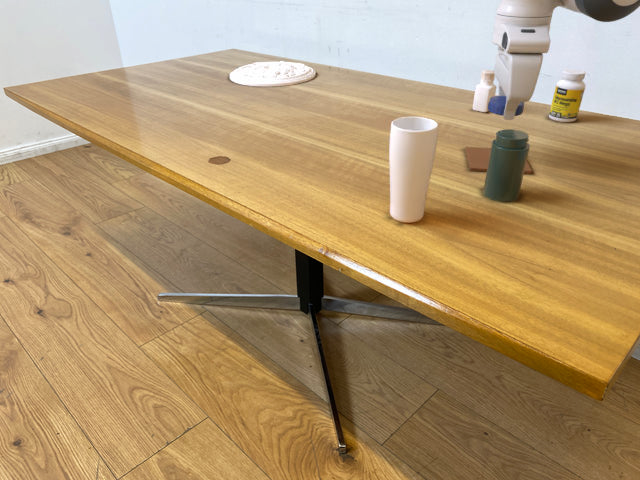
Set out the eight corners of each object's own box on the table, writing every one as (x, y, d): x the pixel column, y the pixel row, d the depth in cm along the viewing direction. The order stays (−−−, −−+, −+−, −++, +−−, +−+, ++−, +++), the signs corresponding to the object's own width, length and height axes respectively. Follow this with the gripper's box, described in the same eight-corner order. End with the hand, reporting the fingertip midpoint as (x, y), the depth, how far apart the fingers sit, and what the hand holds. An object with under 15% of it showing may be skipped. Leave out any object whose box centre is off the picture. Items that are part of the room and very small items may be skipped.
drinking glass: (428, 228, 73) (439, 132, 65) (383, 225, 74) (389, 130, 66) (427, 207, 79) (438, 117, 71) (386, 204, 80) (391, 115, 72)
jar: (514, 187, 85) (527, 128, 79) (522, 202, 80) (536, 141, 74) (480, 186, 85) (490, 127, 80) (486, 201, 80) (497, 140, 75)
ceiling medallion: (323, 67, 167) (323, 58, 166) (303, 88, 144) (302, 77, 143) (247, 64, 173) (246, 55, 171) (216, 84, 150) (214, 73, 148)
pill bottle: (545, 120, 116) (556, 72, 110) (551, 113, 120) (562, 67, 114) (573, 124, 113) (586, 75, 107) (578, 117, 117) (591, 70, 111)
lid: (489, 115, 88) (491, 104, 87) (485, 104, 93) (487, 94, 92) (524, 117, 87) (527, 107, 86) (519, 106, 92) (521, 96, 91)
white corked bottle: (493, 109, 123) (500, 71, 118) (485, 113, 121) (492, 74, 116) (479, 106, 126) (485, 68, 121) (471, 110, 123) (477, 71, 118)
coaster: (520, 152, 99) (521, 149, 98) (531, 174, 89) (532, 171, 89) (465, 149, 100) (465, 146, 100) (470, 170, 91) (470, 167, 91)
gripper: (493, 23, 92) (481, 96, 99) (510, 43, 75) (494, 129, 82) (528, 23, 91) (513, 97, 98) (553, 43, 74) (533, 131, 81)
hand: (505, 112), depth 90 cm, fingers closed on lid, 6 cm apart
